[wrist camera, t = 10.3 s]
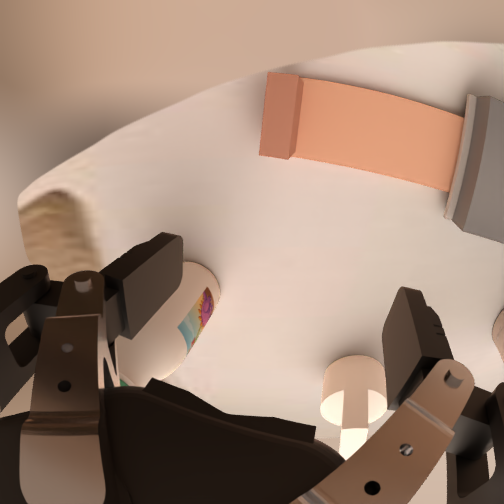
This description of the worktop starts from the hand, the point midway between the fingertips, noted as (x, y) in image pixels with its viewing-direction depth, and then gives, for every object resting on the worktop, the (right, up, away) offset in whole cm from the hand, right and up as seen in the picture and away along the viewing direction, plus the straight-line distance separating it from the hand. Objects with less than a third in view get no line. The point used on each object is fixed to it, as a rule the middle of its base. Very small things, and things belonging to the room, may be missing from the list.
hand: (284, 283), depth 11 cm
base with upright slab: (+14, -17, +29) cm, 36 cm away
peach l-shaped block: (+11, +13, +15) cm, 23 cm away
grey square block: (+26, +10, +13) cm, 30 cm away
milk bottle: (-9, -3, +29) cm, 30 cm away
